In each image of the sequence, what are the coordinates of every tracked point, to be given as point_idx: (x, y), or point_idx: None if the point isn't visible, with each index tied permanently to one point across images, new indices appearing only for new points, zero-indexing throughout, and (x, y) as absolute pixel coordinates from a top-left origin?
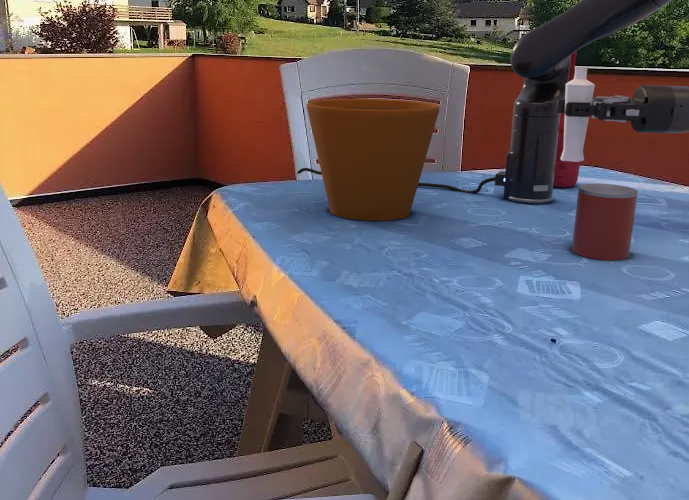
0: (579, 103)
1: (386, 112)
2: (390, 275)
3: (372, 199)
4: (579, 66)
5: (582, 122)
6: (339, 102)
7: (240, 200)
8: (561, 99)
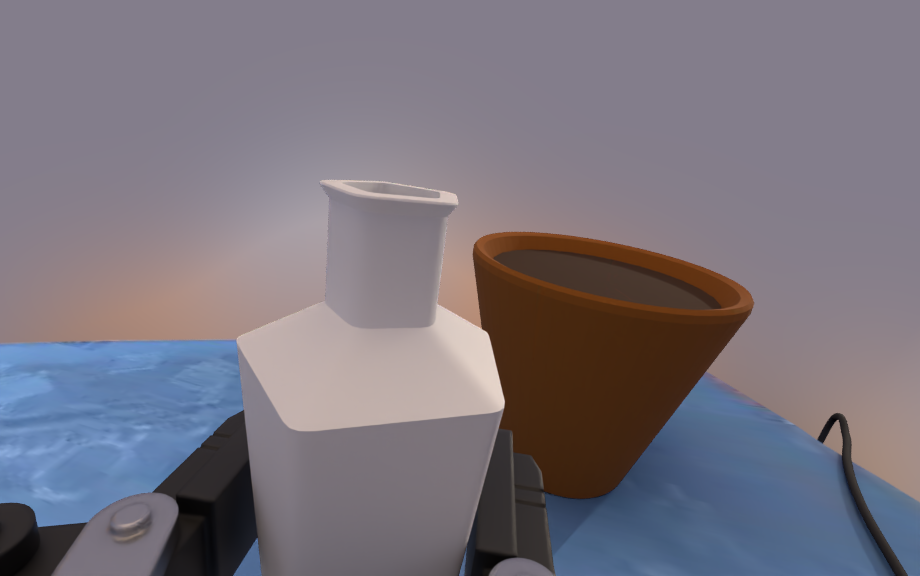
0: (235, 436)
1: (474, 251)
2: (203, 395)
3: None
4: (452, 197)
5: None
6: (674, 265)
7: None
8: (511, 439)
